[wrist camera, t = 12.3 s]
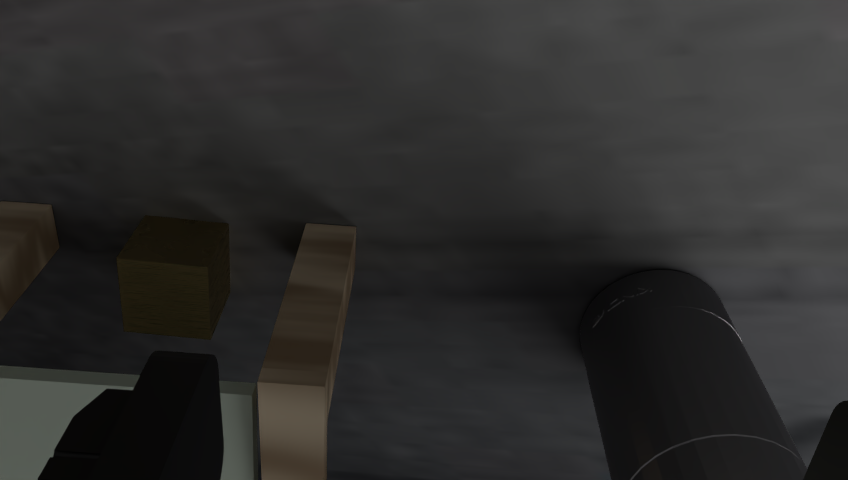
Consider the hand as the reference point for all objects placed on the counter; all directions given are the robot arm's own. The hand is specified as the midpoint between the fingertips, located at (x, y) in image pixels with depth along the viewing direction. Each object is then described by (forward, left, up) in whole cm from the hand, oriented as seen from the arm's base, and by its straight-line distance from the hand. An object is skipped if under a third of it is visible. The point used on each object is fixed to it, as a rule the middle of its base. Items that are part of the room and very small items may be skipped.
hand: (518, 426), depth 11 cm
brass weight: (-5, +26, -32) cm, 42 cm away
